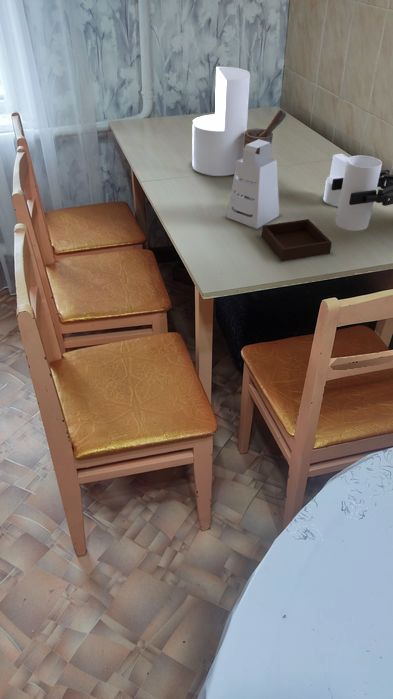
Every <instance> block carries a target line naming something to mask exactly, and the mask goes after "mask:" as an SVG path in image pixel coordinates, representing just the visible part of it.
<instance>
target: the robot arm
mask: <svg viewBox="0 0 393 699" xmlns="http://www.w3.org/2000/svg"><path fill="white" fill-rule="evenodd" d="M390 172H391V170H389V169H382V170H381V171H380V176H379V180H378V184H377V188H378V191H377V189H376V190H371V191H364V192H356V193H351V196H350V201H349V204H350V205H355V204H363V203H370V202H373V203H377V204H381V206H384V207H388V206H390V205H393V174H391V173H390ZM342 184H343V178H337V179H333V182H332V188H331V190H341V189H342Z"/></svg>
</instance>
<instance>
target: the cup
mask: <svg viewBox="0 0 393 699" xmlns="http://www.w3.org/2000/svg"><path fill="white" fill-rule="evenodd" d="M382 166H383V162H382V160H380V159H379V158H377V157H375V156H370V155H363V154H362V155H351V156H349V157H348V159H347V162H346V167H345V173H344V178H343V184H342V189H341V195H340V200H339V206H337V212H336V217H335V224H336V225H337V226H338V227H339V228H341V229H344V230H348V231H362V230H363V231H364V230H365V229H367V228H368V227H369V223H370V219H371V215H372V211H373V206H374V202H370V203H363V204H355V205H350V204H349V201H350V196H351V193H356V192H364V191H371V190H376V191H377V188H378V187H377V184H378V180H379V176H380V171H382V168H383V167H382Z"/></svg>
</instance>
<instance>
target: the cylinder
mask: <svg viewBox="0 0 393 699" xmlns="http://www.w3.org/2000/svg"><path fill="white" fill-rule="evenodd" d="M215 70H216V71H215V109H214V113H213V114H211V113H210V114H204V115H201V116H197V117H195V118H194V119H193V120H192V125H191V126H192V127H191V128H192V132H191V133H192V138H191V142H192V145H191V146H192V147H191V148H192V150H191V151H192V153H191V156H192V157H191V160H192V162H191V163H192V167H191V168H192V169H193V170H194V171H196V172H197V173H200V174H202V175H205V176H213V177H214V176H215V177H225V176H232V175H234V174H235V169H236V164H237V161H238V160H240V159H242V158H243V150H244V142H245V141H244V139H245V131H246V130H248V115H249V100H250V99H249V98H250V86H251V85H250V83H251V73H250V71H248V70H246V69H244V68H240V67H235V66H220V65H219V66H216V68H215Z"/></svg>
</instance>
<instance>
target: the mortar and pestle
mask: <svg viewBox="0 0 393 699" xmlns="http://www.w3.org/2000/svg"><path fill="white" fill-rule="evenodd" d="M286 117H287V112H285V111H284V110H283V109H279V110H278V111H276V113H275V114H274V115H273V117H272V119H271V120H270V123H268V126H267V127H266V128H249V129H248V128H247V130H246V131H245V139H244V141H245V142H244V148H245V146H246V145H247V144H249V143H251V142H254V141H256V140H258V139H260V140H263V141H267V142H270V143H271V145H272V143H273V137H274V133H273V132H274V131H275V129H276V128H277V127H278V126H280V124H281V123H282V122H283V121H284V120H285V118H286ZM272 146H273V145H272ZM255 154H259V155H260V147H259V148H257V150H256V153H255Z"/></svg>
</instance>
